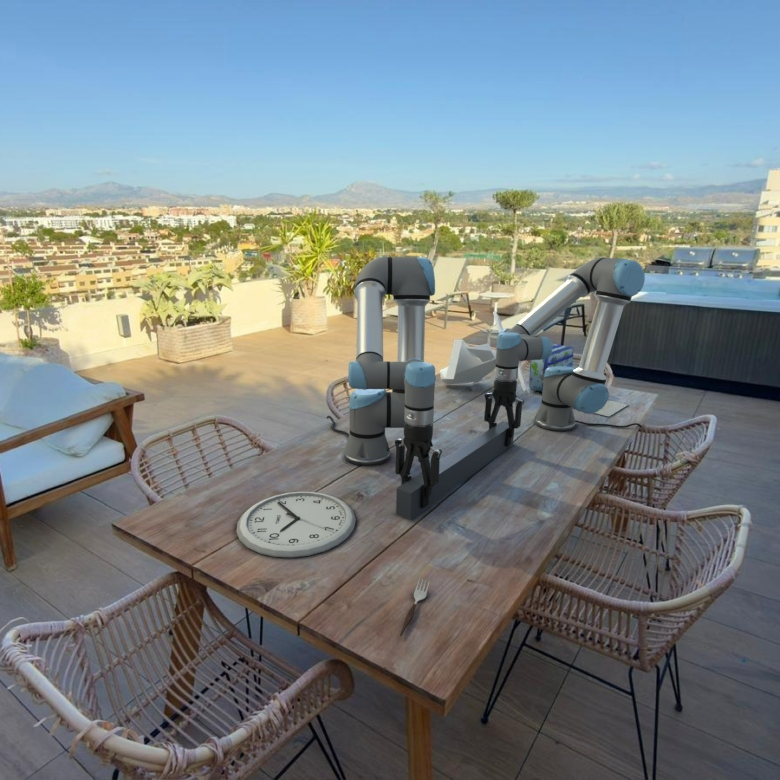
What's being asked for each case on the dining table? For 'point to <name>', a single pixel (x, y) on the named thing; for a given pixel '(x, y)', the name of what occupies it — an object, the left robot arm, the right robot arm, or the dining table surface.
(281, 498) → the wall clock
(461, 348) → the white plastic object
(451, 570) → the dining table surface
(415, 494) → the post
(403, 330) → the left robot arm
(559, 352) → the lunch box
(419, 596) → the fork
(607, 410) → the invitation card
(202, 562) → the dining table surface
